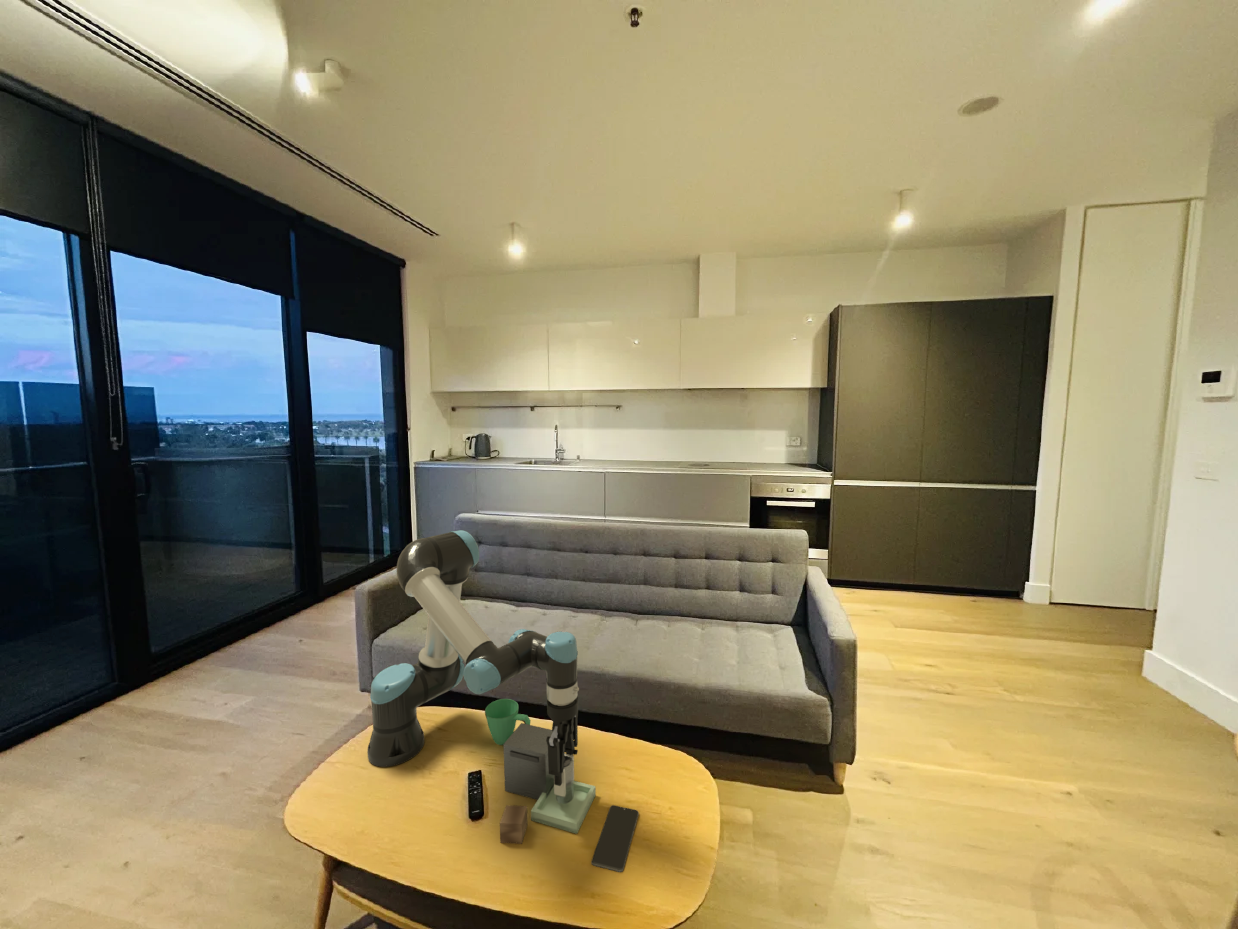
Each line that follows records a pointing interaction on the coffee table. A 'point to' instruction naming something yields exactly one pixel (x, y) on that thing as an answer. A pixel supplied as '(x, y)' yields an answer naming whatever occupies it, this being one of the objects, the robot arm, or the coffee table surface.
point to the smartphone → (615, 839)
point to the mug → (503, 719)
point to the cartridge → (567, 781)
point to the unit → (527, 762)
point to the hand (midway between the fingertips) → (564, 786)
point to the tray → (564, 808)
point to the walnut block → (513, 824)
